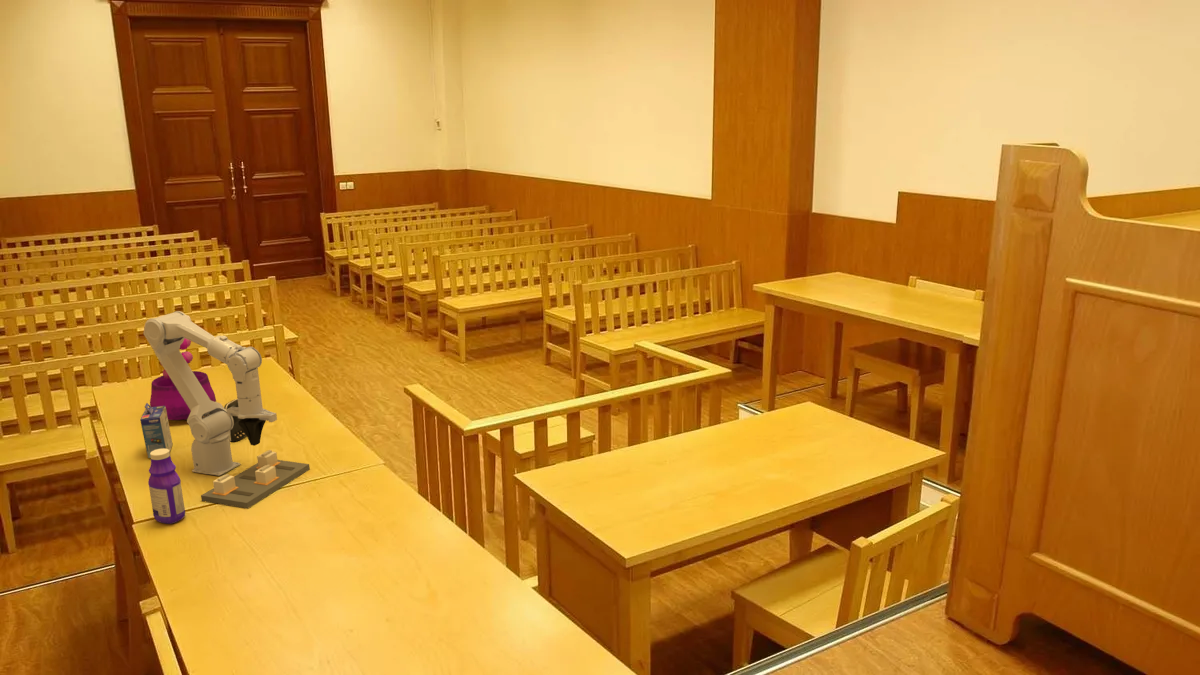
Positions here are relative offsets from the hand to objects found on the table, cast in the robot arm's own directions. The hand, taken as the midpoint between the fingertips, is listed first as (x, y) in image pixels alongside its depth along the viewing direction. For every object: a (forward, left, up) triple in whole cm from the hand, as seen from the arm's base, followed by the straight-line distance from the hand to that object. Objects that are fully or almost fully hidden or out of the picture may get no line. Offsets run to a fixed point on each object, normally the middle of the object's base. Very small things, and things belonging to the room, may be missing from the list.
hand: (255, 444), depth 226 cm
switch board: (+3, -5, -9) cm, 11 cm away
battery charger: (-24, +20, -9) cm, 32 cm away
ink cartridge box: (-38, +5, -9) cm, 40 cm away
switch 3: (+6, -5, -7) cm, 11 cm away
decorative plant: (-54, +30, -9) cm, 62 cm away
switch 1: (0, -13, -7) cm, 15 cm away
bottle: (-4, -27, -9) cm, 28 cm away
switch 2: (0, +3, -7) cm, 8 cm away
